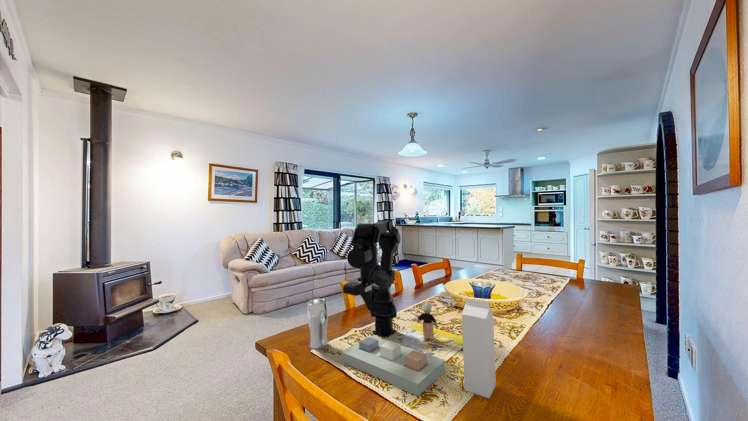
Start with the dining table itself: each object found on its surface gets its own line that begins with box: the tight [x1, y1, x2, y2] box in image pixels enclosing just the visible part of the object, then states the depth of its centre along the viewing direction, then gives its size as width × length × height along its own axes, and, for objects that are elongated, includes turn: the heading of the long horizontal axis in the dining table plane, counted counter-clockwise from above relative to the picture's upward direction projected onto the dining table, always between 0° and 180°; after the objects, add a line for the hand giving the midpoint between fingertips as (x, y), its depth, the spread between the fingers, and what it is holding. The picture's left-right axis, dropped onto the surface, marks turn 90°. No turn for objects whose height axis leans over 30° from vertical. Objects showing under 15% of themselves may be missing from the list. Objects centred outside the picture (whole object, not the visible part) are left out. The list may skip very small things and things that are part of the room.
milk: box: [461, 298, 497, 399], centre depth 72 cm, size 6×6×22 cm
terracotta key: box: [405, 349, 427, 372], centre depth 79 cm, size 4×4×4 cm
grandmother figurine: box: [416, 302, 439, 343], centre depth 100 cm, size 8×4×13 cm, turn 65°
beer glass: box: [306, 297, 329, 350], centre depth 99 cm, size 7×7×15 cm
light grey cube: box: [380, 340, 402, 362], centre depth 84 cm, size 4×4×4 cm
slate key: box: [358, 336, 379, 353], centre depth 90 cm, size 4×4×4 cm
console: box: [340, 335, 446, 397], centre depth 84 cm, size 14×27×3 cm, turn 50°
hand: (370, 310), depth 94 cm, fingers closed
